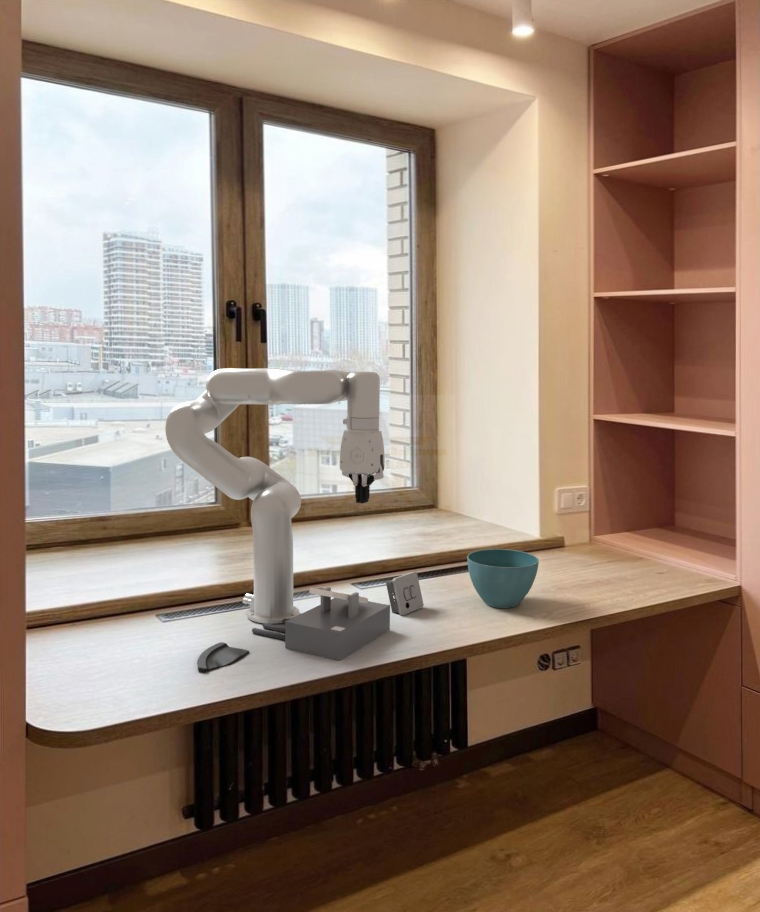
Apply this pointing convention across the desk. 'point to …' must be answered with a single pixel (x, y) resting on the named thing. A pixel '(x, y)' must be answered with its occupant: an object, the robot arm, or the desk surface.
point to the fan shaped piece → (219, 657)
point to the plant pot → (502, 575)
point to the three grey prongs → (272, 627)
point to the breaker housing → (337, 627)
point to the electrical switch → (405, 593)
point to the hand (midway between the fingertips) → (362, 502)
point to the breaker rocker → (335, 595)
